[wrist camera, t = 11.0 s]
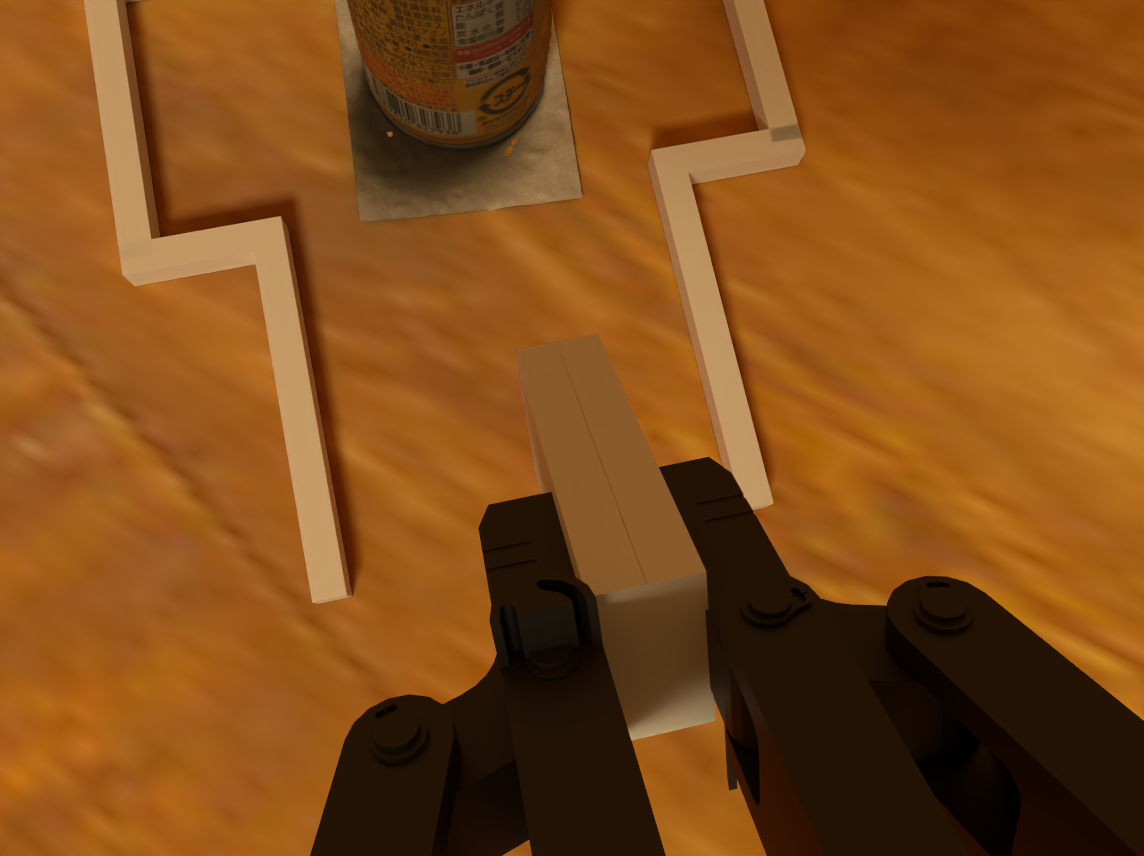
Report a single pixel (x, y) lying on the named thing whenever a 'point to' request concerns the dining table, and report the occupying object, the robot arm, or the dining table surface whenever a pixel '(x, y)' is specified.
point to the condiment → (455, 106)
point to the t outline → (280, 294)
